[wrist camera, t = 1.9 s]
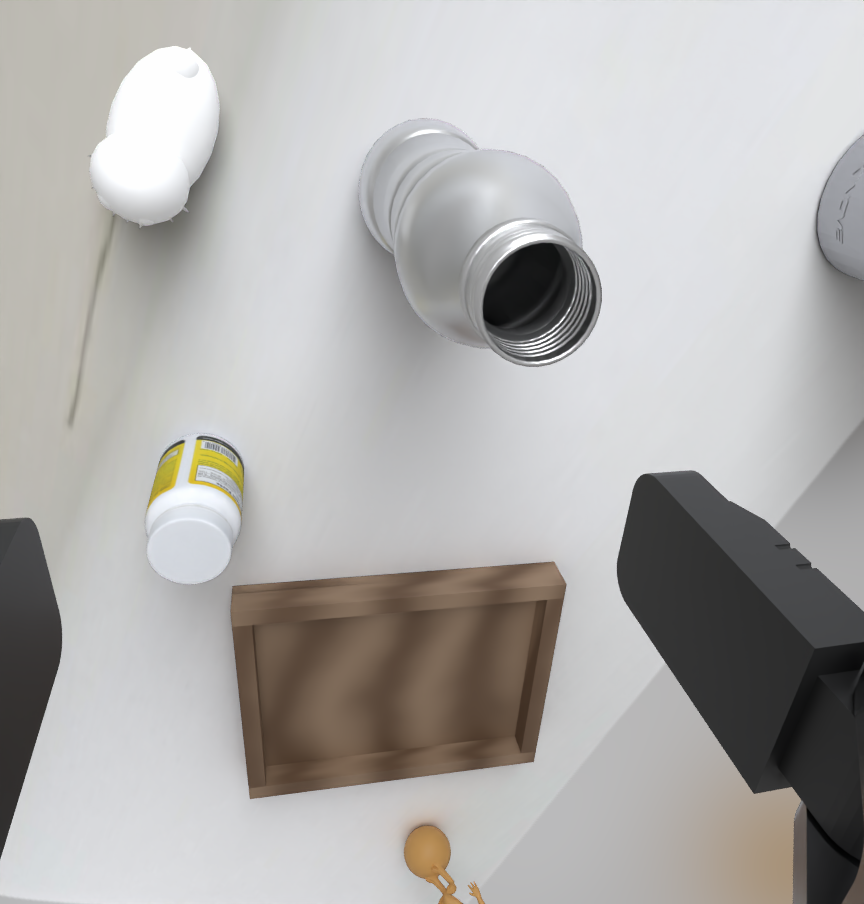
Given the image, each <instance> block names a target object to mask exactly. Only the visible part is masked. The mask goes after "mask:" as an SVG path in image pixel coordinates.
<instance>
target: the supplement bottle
mask: <svg viewBox="0 0 864 904" xmlns="http://www.w3.org/2000/svg"><path fill="white" fill-rule="evenodd" d="M243 482H244V466H243V461H242V458H241V456H240V454H239V453H238V451H237V450H236V449H235V447H234V446H233V445H231V444H230V443H229V442H228V441H226V440H224V439H223V438H221V437H218V436H215V435H212V434H205V433H197V434H191V435H187V436H184V437H181V438H179V439H177V440H175V441H174V442H172V443H171V444H170V445H169V446H168V447H167V448H166V449H165V451H164V452H163V454H162V456H161V458H160V462H159V465H158V469H157V473H156V477H155V480H154V484H153V488H152V492H151V496H150V500H149V504H148V508H147V512H146V516H145V530H146V534H147V537H148V542H147V558H148V561H149V563H150V565H151V566H152V568H153V569H154V570H155V571H156V572H157V573H158V574H159V575H160V576H162V577H163V578H165V579H167V580H169V581H172V582H175V583H179V584H199V583H204V582H207V581H209V580H211V579H213V578H215V577H217V576H218V575H219V574H221V573H222V572H223V571H224V570H225V568H226V567H227V565H228V563H229V561H230V558H231V554H232V548H233V545H234V544H235V542H236V540H237V538H238V536H239V533H240V529H241V521H242V502H243Z"/></svg>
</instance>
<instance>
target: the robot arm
mask: <svg viewBox="0 0 864 904" xmlns="http://www.w3.org/2000/svg"><path fill="white" fill-rule="evenodd" d="M818 236H819V241H820V246H821V248H822V250H823V252H824V255H825V257H826V258H827V259H828V261H829V262H830V263H831V264H832V265H833V266H834V267H835V268H836V269H838V270H840V271H841V272H843V273H845V274H847V275H849V276H852V277H854V278H857V279H859V280H862V281H864V135H863V136H862V137H861V138H860V139H858V140H857V141H856V142H855V143H854V144H853V145H852V146H851V147H850V148H849V150H848V151H847V152H846V153H845V155H844V156H843V157H842V158H841V160H840V161H839V162H838V164H837V166H836V167H835V169H834V171H833V173H832V174H831V176H830V178H829V180H828V182H827V185H826V187H825V190H824V192H823V195H822V198H821V202H820V207H819V212H818ZM617 577H618V584H619V588H620V591H621V594H622V596H623V599H624V601H625V602H626V604H627V606H628V607H629V609H630V610H631V612H632V613H633V615H634V616H635V618H636V619H637V621H638V622H639V623H640V625H641V626H642V628H643V629H644V631H645V632H646V634H647V635H648V637H649V638H650V640H651V641H652V643H653V644H654V646H655V647H656V649H657V650H658V652H659V653H660V655H661V656H662V658H663V659H664V661H665V662H666V664H667V665H668V667H669V668H670V670H671V671H672V672H673V674H674V675H675V677H676V679H677V680H678V682H679V683H680V685H681V686H682V687H683V689H684V690H685V692H686V693H687V695H688V696H689V698H690V699H691V701H692V702H693V704H694V705H695V707H696V708H697V710H698V711H699V713H700V714H701V716H702V717H703V718H704V720H705V722H706V723H707V725H708V726H709V728H710V729H711V731H712V732H713V734H714V735H715V737H716V738H717V739H718V741H719V743H720V744H721V746H722V747H723V749H724V750H725V751H726V753H727V754H728V756H729V757H730V759H731V760H732V762H733V763H734V765H735V766H736V768H737V769H738V771H739V772H740V774H741V775H742V777H743V778H744V779H745V781H746V783H747V784H748V786H749V787H750V789H751V790H752V792H753V793H754V794H755V793H761V792H766V791H772V790H777V789H783V788H788V787H793V789H794V790H795V792H796V793H797V794H798V796H799V797H800V798H801V802H800V805H799V807H798V809H797V811H796V814H795V818H794V855H793V856H794V857H793V904H864V612H863V611H862V610H861V609H860V608H859V607H858V606H857V605H856V604H855V603H854V602H852V600H850V599H849V598H848V597H847V596H846V595H845V594H844V593H843V592H842V591H841V590H840V589H839V588H838V587H836V586H835V585H834V584H833V583H832V582H831V581H830V580H829V579H828V578H827V577H826V576H825V575H824V574H822V573H821V572H820V571H819V570H818V569H817V568H813V569H812V567H811V562H809V561H808V560H807V559H806V558H805V557H804V556H803V555H802V554H801V553H800V552H799V551H797V550H796V549H795V548H793V549H791V548H790V543H789V542H788V541H787V540H786V539H785V538H784V537H782V536H781V535H780V534H779V533H778V532H777V531H776V530H775V529H774V528H773V527H772V526H771V525H770V524H768V523H767V522H766V521H765V520H764V519H762V518H760V517H758V516H756V515H755V514H753V513H751V512H749V511H747V510H746V509H744V508H742V507H740V506H738V505H737V504H735V503H733V502H731V501H728V500H727V499H726V498H725V497H724V496H723V495H722V494H720V493H719V492H718V491H717V490H716V489H715V488H714V487H713V486H712V485H711V484H710V483H709V482H708V481H707V480H706V479H705V478H704V477H703V476H702V475H700V474H699V473H698V472H696V471H677V472H663V473H650V474H643V475H641V476H640V477H639V478H638V479H637V481H636V483H635V485H634V488H633V492H632V497H631V501H630V506H629V510H628V515H627V519H626V524H625V528H624V533H623V537H622V542H621V546H620V551H619V555H618V561H617ZM61 650H62V626H61V618H60V613H59V609H58V605H57V601H56V597H55V593H54V590H53V586H52V582H51V578H50V574H49V570H48V567H47V563H46V559H45V555H44V551H43V547H42V543H41V540H40V536H39V532H38V529H37V527H36V525H35V523H34V522H33V521H32V519H30V518H15V519H1V520H0V858H1V855H2V852H3V849H4V845H5V842H6V839H7V835H8V832H9V829H10V825H11V822H12V819H13V816H14V812H15V809H16V806H17V802H18V799H19V796H20V792H21V789H22V786H23V783H24V779H25V776H26V773H27V769H28V766H29V763H30V759H31V756H32V753H33V750H34V746H35V743H36V740H37V736H38V733H39V730H40V726H41V723H42V720H43V717H44V713H45V710H46V707H47V703H48V700H49V697H50V693H51V690H52V687H53V684H54V680H55V677H56V674H57V670H58V667H59V663H60V658H61Z"/></svg>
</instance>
